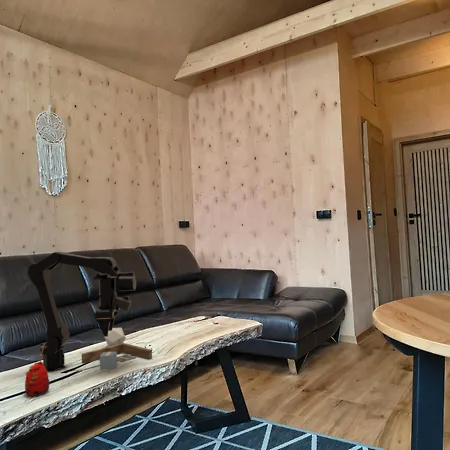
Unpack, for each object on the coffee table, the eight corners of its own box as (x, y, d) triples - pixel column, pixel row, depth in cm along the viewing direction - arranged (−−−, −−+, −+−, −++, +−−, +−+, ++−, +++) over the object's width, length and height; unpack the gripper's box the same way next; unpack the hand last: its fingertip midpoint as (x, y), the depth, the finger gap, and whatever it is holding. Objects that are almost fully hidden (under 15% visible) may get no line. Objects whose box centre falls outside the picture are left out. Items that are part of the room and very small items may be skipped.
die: (114, 351, 177) (127, 331, 180) (98, 341, 178) (111, 321, 182) (119, 353, 184) (131, 334, 187) (103, 343, 186) (115, 324, 189)
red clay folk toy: (23, 391, 130) (22, 343, 131) (47, 386, 134) (46, 340, 134) (26, 399, 124) (25, 348, 124) (51, 394, 127) (50, 344, 128)
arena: (109, 371, 147) (109, 361, 147) (81, 362, 159) (81, 353, 159) (152, 358, 161) (151, 349, 162) (123, 351, 174) (123, 342, 174)
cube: (114, 369, 150) (113, 355, 150) (100, 370, 150) (99, 355, 150) (116, 365, 155) (116, 351, 155) (103, 365, 155) (103, 352, 155)
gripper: (126, 293, 146) (127, 338, 145) (132, 287, 165) (133, 327, 164) (93, 294, 145) (94, 340, 144) (103, 288, 163) (104, 328, 163)
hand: (108, 333), depth 154 cm, fingers open, 9 cm apart
